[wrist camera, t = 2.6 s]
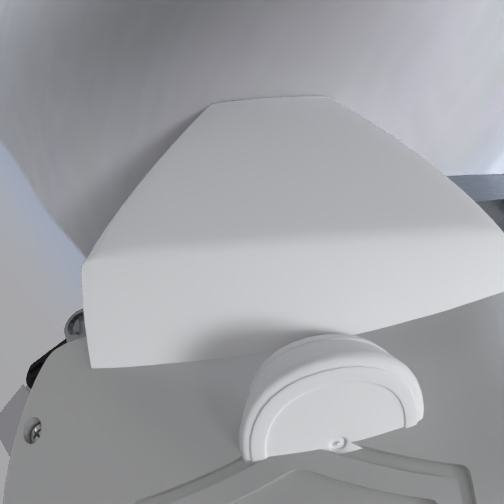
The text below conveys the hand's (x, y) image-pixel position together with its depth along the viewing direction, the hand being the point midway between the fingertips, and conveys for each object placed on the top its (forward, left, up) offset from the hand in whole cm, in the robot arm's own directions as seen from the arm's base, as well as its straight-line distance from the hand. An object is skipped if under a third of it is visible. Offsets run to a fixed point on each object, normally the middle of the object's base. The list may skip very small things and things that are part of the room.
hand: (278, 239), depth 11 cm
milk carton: (0, 0, -9) cm, 9 cm away
